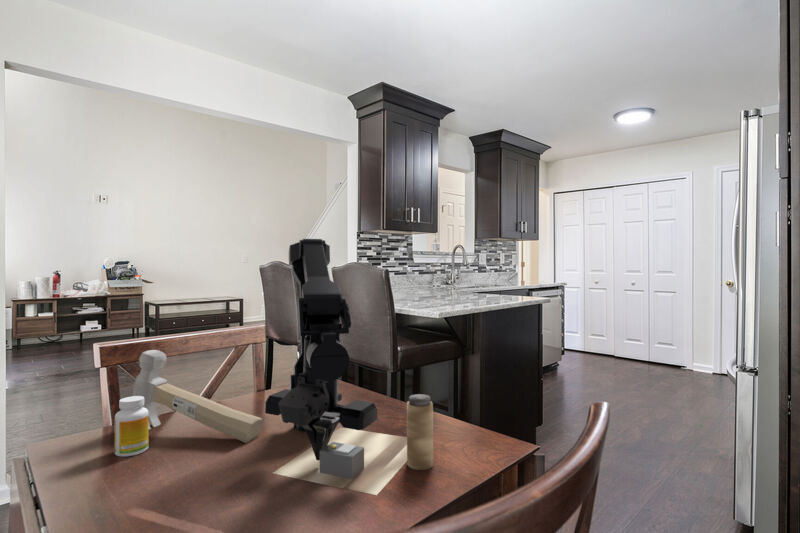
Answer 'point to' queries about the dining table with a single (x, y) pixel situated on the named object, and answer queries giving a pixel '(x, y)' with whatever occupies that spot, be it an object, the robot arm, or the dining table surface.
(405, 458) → the plywood panel
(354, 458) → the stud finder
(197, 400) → the hammer
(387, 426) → the dining table surface
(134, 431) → the supplement bottle
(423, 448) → the marker peg
